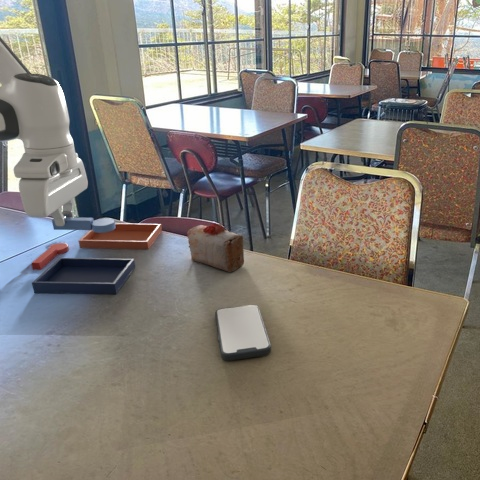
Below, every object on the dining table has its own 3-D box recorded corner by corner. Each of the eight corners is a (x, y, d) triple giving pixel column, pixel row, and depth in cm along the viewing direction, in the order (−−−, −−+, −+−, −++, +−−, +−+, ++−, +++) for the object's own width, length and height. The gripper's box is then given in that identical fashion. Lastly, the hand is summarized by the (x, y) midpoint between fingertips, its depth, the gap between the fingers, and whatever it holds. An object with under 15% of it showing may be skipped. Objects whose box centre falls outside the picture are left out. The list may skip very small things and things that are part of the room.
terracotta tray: (80, 249, 122) (78, 240, 121) (99, 231, 133) (98, 222, 132) (148, 250, 122) (147, 241, 121) (162, 232, 133) (161, 223, 132)
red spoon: (47, 271, 110) (45, 263, 109) (27, 271, 110) (25, 262, 109) (72, 248, 122) (70, 240, 121) (54, 248, 122) (52, 240, 121)
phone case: (214, 315, 96) (221, 363, 82) (214, 308, 95) (221, 355, 81) (258, 310, 98) (272, 356, 84) (258, 303, 97) (272, 348, 83)
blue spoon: (50, 232, 101) (48, 222, 100) (60, 224, 105) (59, 214, 104) (110, 233, 101) (109, 223, 100) (118, 225, 105) (117, 215, 105)
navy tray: (34, 293, 101) (31, 282, 100) (61, 267, 113) (59, 257, 112) (116, 294, 102) (114, 284, 101) (135, 268, 113) (134, 258, 112)
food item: (184, 261, 117) (181, 223, 113) (207, 250, 123) (204, 214, 119) (227, 275, 111) (225, 236, 107) (249, 263, 117) (248, 225, 113)
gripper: (60, 147, 106) (72, 205, 112) (7, 171, 88) (24, 240, 93) (89, 147, 107) (99, 206, 112) (42, 172, 88) (57, 241, 93)
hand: (65, 222), depth 103 cm, fingers closed on blue spoon, 2 cm apart
